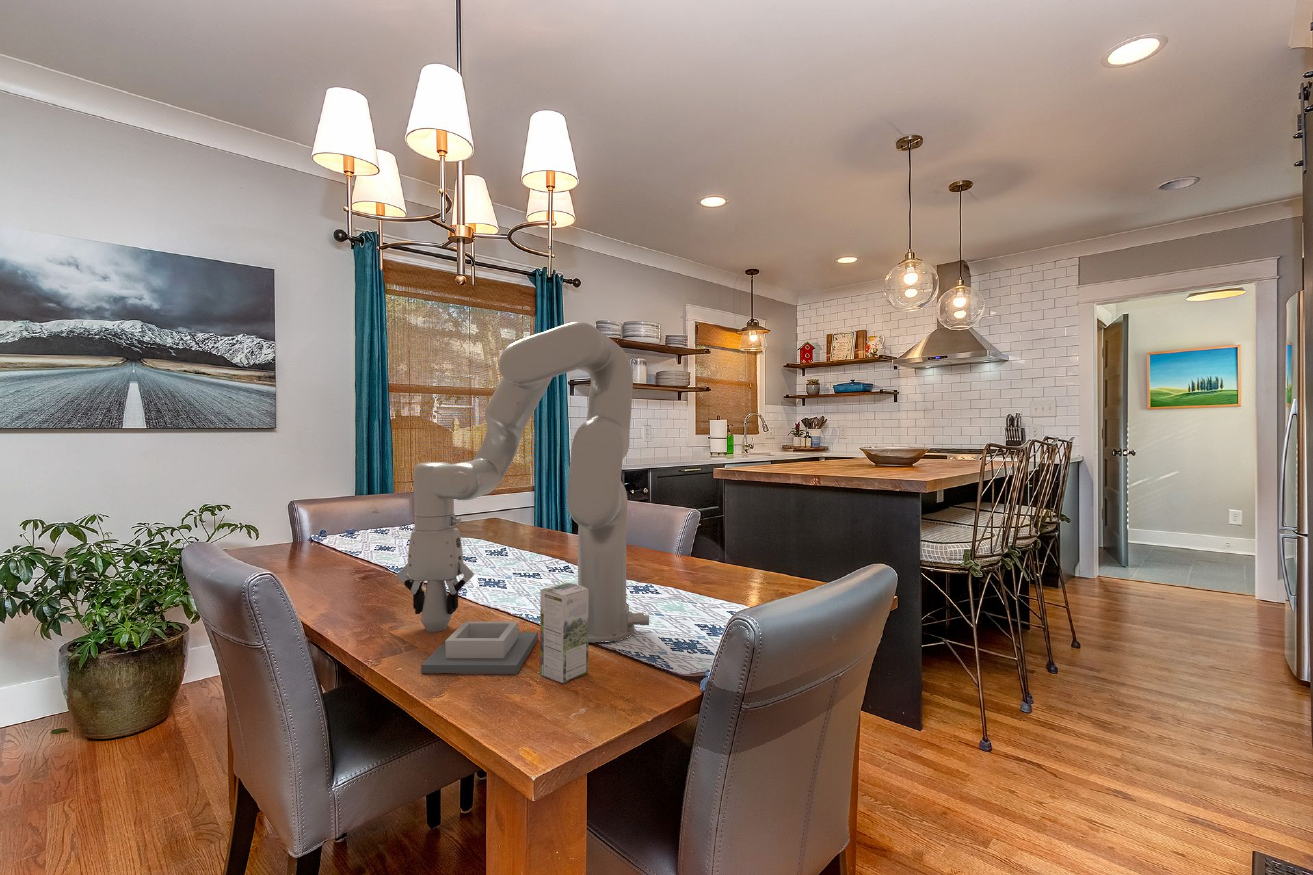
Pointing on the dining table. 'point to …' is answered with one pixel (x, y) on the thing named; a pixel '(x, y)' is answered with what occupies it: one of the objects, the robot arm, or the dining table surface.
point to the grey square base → (482, 649)
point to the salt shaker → (435, 607)
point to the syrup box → (564, 632)
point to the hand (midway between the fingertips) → (436, 611)
